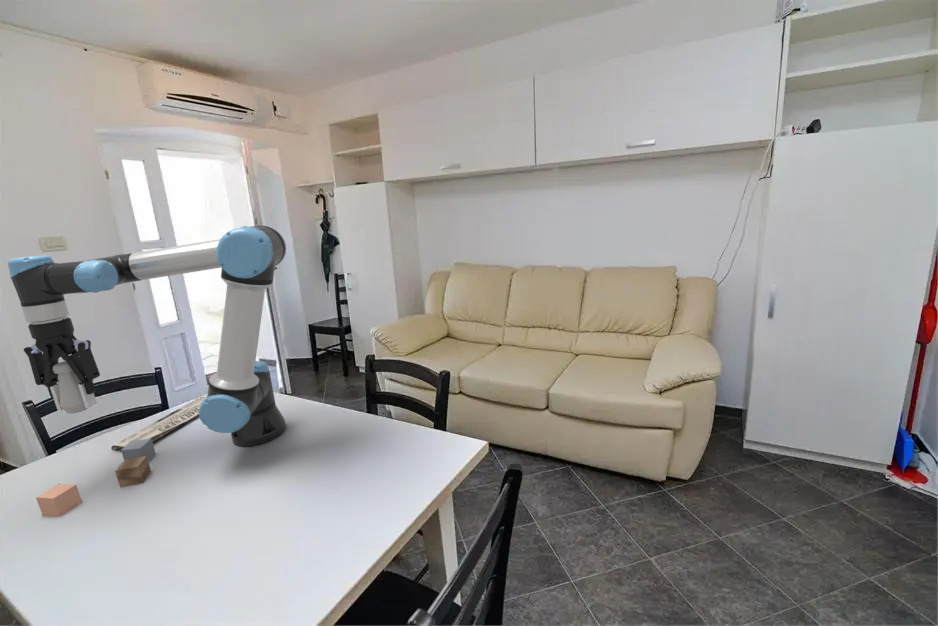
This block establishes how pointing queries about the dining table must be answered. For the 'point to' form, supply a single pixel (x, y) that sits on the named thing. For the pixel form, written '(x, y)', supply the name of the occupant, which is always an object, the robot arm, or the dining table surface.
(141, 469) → the walnut cube
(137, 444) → the slate cube
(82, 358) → the robot arm
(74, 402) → the salt shaker
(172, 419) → the newspaper
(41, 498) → the terracotta cube
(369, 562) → the dining table surface
